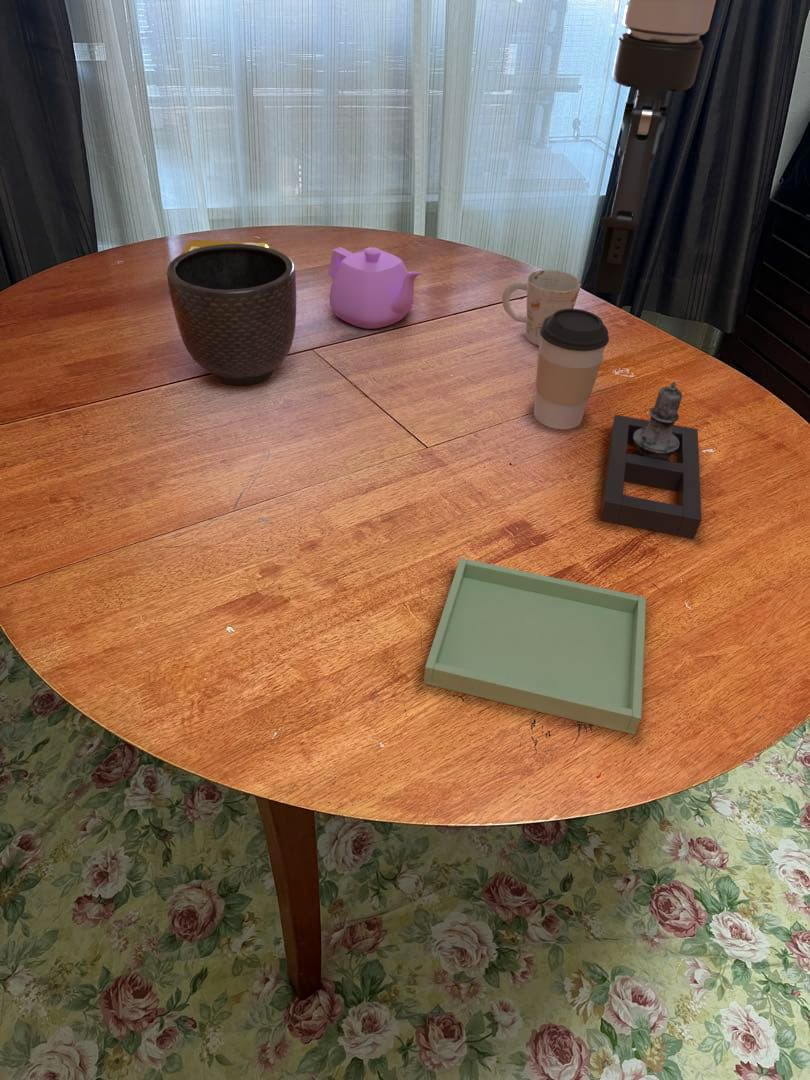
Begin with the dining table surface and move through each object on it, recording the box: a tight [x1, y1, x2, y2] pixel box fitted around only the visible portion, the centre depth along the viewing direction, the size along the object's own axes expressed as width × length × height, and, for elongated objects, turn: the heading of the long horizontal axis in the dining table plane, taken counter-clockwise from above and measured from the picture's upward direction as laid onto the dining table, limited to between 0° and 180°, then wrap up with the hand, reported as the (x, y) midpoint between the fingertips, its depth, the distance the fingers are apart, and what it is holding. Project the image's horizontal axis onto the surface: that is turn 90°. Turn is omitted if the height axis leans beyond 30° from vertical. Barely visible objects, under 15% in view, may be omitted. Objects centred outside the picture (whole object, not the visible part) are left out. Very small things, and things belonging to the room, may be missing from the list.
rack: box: [599, 414, 702, 540], centre depth 96 cm, size 11×20×3 cm, turn 165°
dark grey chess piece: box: [631, 381, 683, 461], centre depth 97 cm, size 6×6×12 cm
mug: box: [501, 269, 582, 347], centre depth 124 cm, size 8×13×10 cm, turn 61°
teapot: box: [328, 246, 422, 330], centre depth 127 cm, size 13×20×11 cm
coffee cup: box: [533, 308, 610, 430], centre depth 103 cm, size 9×9×15 cm
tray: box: [423, 557, 647, 736], centre depth 75 cm, size 20×16×2 cm
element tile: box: [181, 239, 270, 254], centre depth 137 cm, size 15×15×5 cm
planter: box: [166, 244, 297, 387], centre depth 109 cm, size 17×17×16 cm
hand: (610, 267), depth 83 cm, fingers open, 13 cm apart
